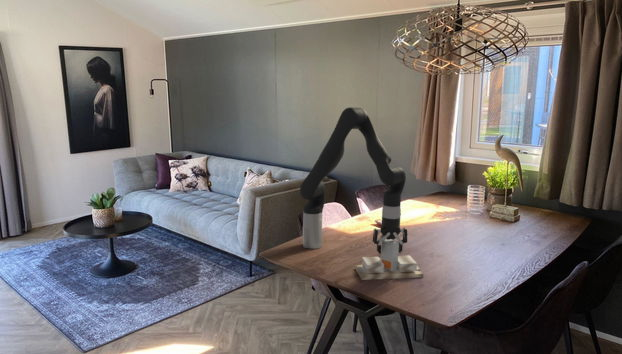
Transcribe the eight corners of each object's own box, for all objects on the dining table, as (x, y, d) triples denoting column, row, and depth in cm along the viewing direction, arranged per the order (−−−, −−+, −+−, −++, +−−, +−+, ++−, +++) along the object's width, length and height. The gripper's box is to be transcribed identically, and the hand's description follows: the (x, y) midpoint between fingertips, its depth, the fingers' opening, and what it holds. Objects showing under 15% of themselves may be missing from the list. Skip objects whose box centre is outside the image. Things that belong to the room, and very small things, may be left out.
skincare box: (380, 267, 198) (381, 240, 196) (386, 264, 201) (388, 238, 199) (391, 271, 194) (392, 243, 191) (398, 268, 197) (399, 241, 194)
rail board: (361, 279, 190) (362, 266, 189) (355, 268, 202) (355, 256, 201) (423, 277, 193) (424, 264, 192) (413, 266, 205) (414, 254, 204)
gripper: (405, 212, 197) (403, 249, 200) (372, 213, 196) (370, 250, 199) (410, 217, 190) (408, 255, 193) (376, 218, 188) (375, 256, 191)
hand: (389, 252), depth 196 cm, fingers open, 8 cm apart
